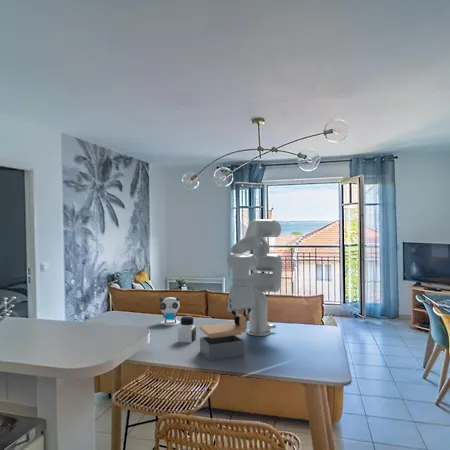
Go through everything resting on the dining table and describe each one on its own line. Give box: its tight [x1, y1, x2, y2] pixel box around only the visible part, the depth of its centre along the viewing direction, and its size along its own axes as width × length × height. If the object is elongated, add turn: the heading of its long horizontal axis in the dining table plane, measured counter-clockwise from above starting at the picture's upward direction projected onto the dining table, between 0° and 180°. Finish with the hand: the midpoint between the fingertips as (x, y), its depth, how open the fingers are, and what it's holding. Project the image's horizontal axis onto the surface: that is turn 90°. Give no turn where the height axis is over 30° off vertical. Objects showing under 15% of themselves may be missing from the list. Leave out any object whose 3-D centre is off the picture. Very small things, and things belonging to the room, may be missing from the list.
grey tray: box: [199, 335, 245, 362], centre depth 152 cm, size 16×12×7 cm
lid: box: [199, 313, 248, 338], centre depth 153 cm, size 19×13×7 cm, turn 111°
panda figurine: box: [158, 296, 181, 326], centre depth 206 cm, size 12×11×15 cm
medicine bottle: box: [177, 315, 197, 344], centre depth 171 cm, size 7×7×12 cm
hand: (240, 324), depth 156 cm, fingers closed on lid, 2 cm apart
